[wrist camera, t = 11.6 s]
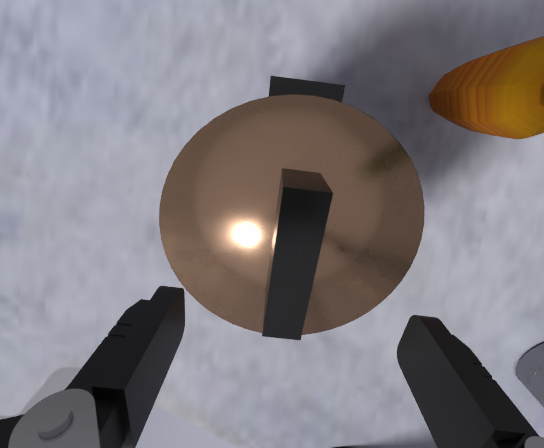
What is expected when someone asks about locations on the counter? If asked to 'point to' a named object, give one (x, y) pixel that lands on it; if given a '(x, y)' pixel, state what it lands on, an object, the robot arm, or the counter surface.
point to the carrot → (496, 92)
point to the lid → (291, 215)
